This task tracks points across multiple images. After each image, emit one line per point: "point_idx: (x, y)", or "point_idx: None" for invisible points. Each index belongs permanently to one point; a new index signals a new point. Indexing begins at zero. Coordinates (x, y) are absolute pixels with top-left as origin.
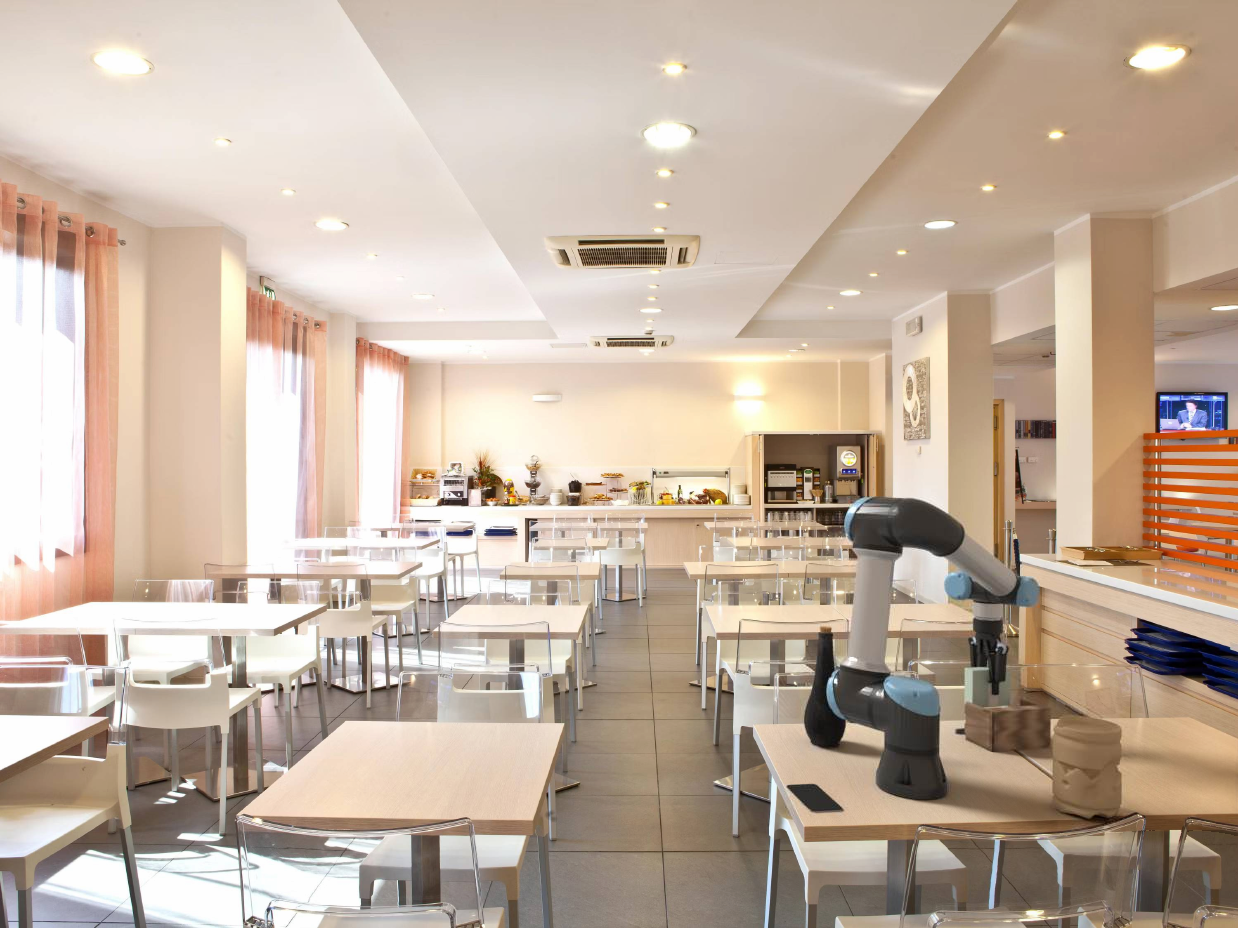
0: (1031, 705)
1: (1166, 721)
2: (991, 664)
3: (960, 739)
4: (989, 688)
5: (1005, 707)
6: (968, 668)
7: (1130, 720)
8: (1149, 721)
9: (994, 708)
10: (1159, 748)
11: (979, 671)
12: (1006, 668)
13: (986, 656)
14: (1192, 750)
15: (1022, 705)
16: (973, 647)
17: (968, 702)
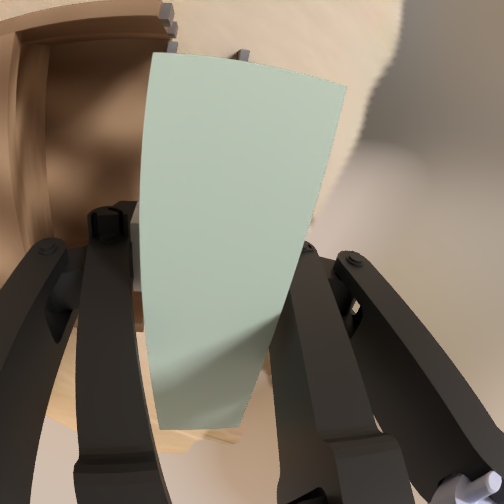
0: None
1: (178, 445)
2: (76, 362)
3: (181, 16)
4: (137, 201)
5: (5, 150)
6: (295, 104)
7: (193, 430)
8: (183, 438)
9: (2, 79)
10: (58, 388)
11: (142, 174)
12: (166, 419)
13: (154, 457)
14: (55, 405)
15: None
16: (461, 447)
17: (140, 4)
